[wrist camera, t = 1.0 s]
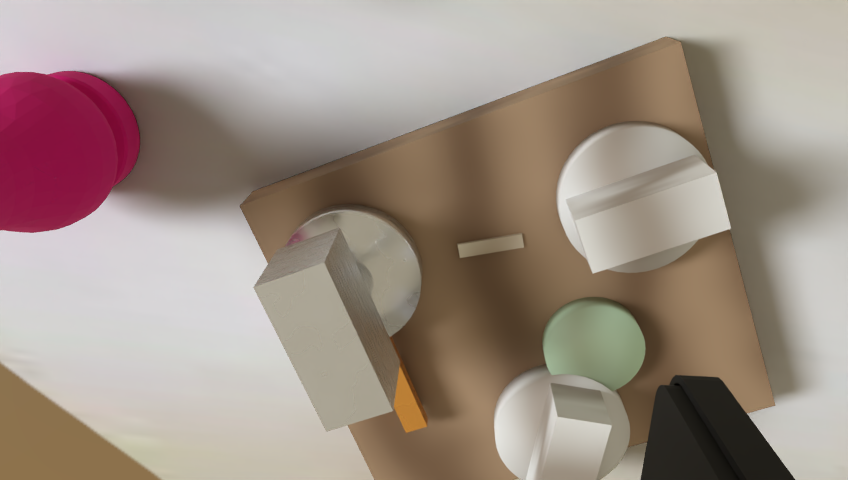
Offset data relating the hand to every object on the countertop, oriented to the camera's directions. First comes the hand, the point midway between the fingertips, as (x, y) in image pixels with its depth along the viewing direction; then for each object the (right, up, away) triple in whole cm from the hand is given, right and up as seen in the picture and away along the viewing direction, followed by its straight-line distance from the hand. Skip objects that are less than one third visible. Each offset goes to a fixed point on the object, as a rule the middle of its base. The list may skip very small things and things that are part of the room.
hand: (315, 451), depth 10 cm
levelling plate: (+6, 0, +30) cm, 30 cm away
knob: (-1, -1, +28) cm, 28 cm away
